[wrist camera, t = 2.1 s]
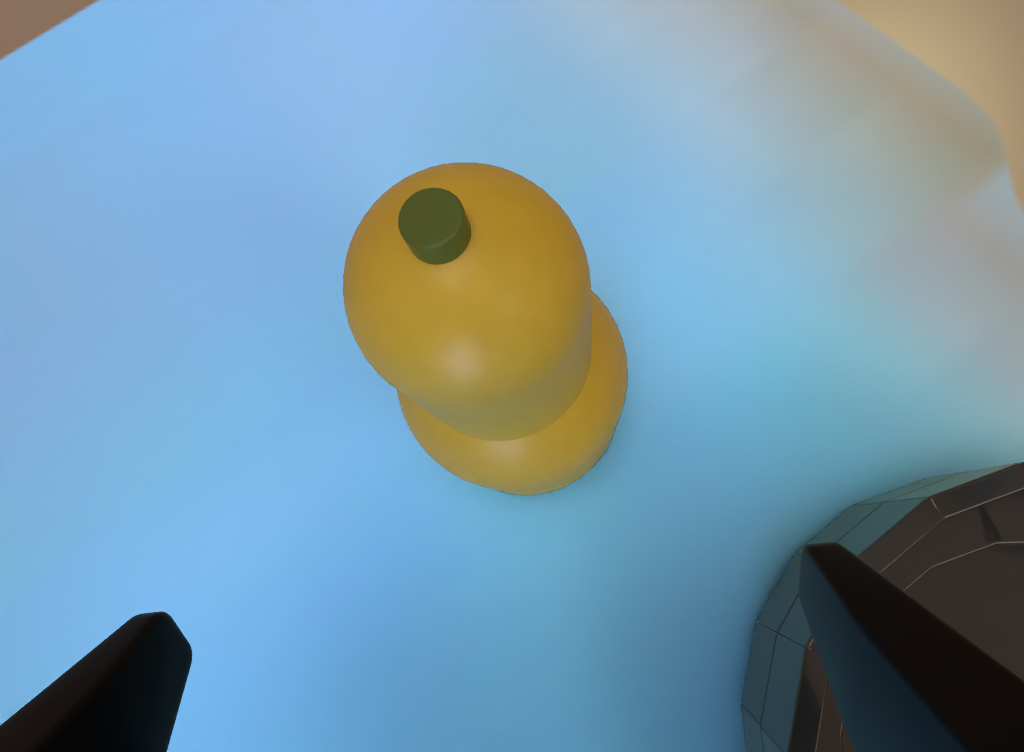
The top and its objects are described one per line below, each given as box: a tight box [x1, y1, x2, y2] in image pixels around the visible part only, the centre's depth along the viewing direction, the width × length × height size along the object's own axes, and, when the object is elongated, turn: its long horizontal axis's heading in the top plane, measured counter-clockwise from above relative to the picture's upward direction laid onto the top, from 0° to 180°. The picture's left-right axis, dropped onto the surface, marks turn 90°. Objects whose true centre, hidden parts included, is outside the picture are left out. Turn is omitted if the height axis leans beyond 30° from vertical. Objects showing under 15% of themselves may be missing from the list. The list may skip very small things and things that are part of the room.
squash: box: [343, 163, 628, 495], centre depth 15 cm, size 7×7×13 cm
